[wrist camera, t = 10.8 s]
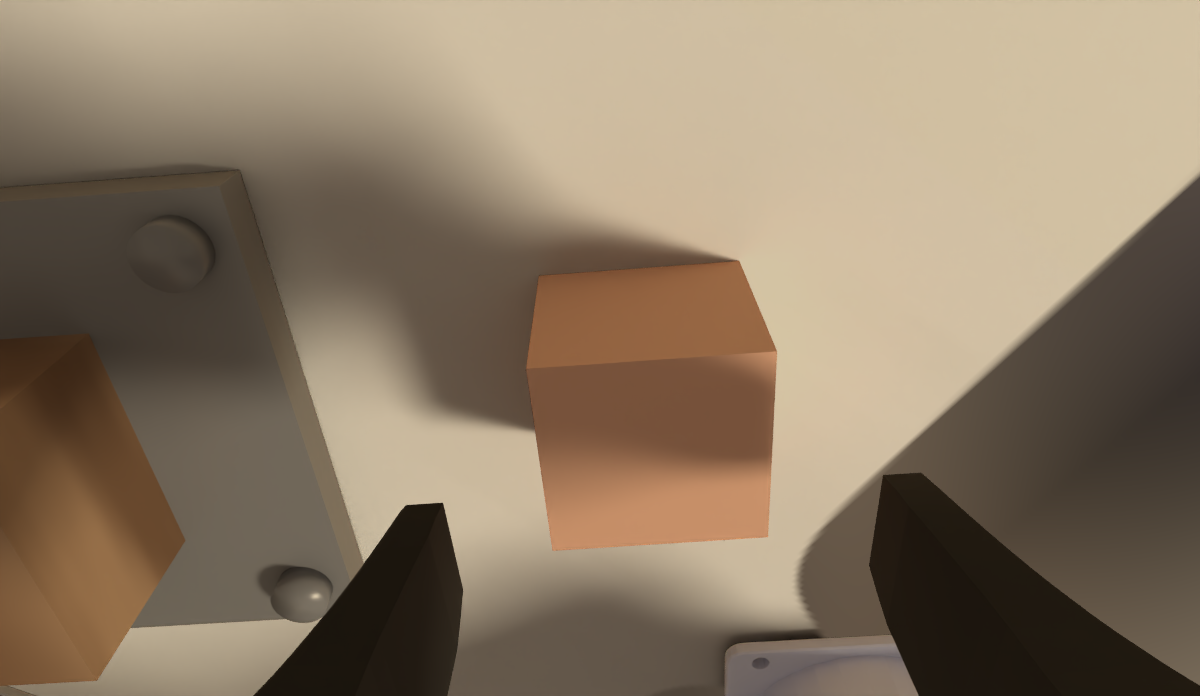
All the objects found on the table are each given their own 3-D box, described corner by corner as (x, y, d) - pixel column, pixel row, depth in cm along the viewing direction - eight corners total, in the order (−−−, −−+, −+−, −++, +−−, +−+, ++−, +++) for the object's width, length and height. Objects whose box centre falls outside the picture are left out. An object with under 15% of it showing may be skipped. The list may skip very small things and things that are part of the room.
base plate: (239, 170, 15) (205, 196, 14) (370, 585, 21) (355, 632, 20) (-333, 211, 16) (-421, 241, 14) (-45, 610, 22) (-88, 658, 20)
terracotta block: (738, 258, 17) (777, 351, 13) (735, 421, 19) (768, 537, 15) (539, 273, 17) (526, 369, 13) (559, 433, 19) (552, 550, 16)
